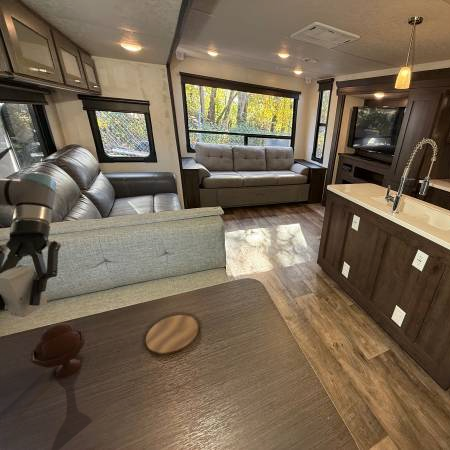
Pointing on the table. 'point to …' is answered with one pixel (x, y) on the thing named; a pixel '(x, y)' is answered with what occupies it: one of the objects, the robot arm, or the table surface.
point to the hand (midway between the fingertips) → (16, 307)
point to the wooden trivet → (172, 334)
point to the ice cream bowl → (59, 349)
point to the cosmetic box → (19, 290)
